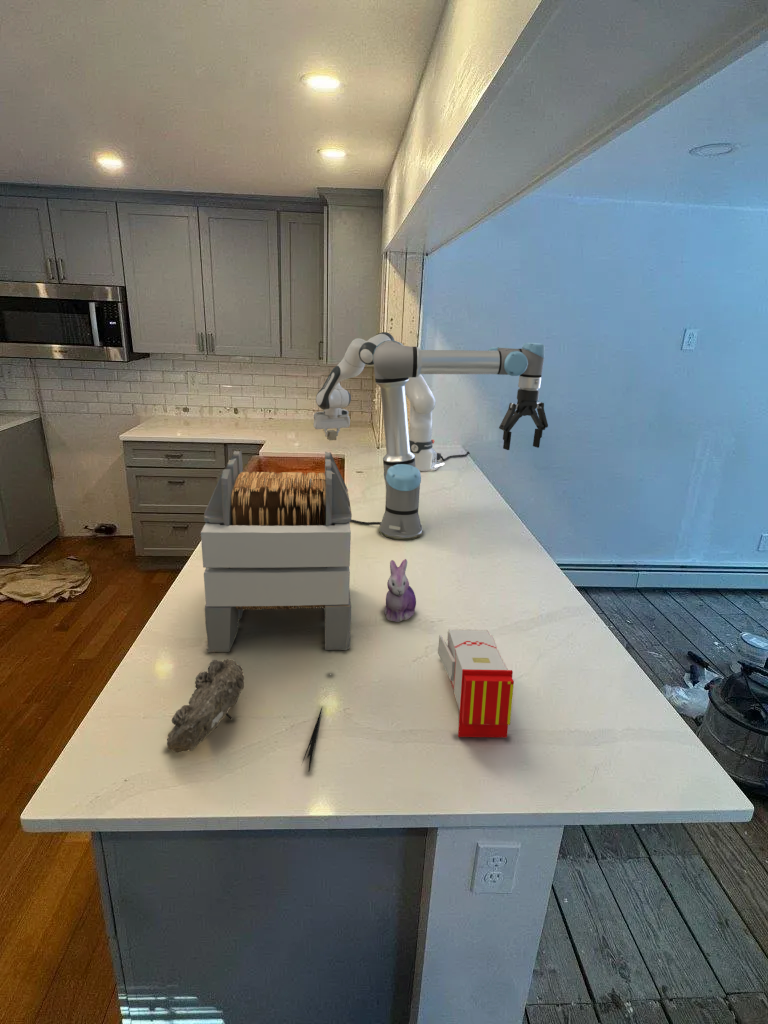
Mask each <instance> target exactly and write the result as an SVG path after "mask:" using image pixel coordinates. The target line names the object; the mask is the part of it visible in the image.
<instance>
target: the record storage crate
mask: <svg viewBox="0 0 768 1024" xmlns="http://www.w3.org/2000/svg"><path fill="white" fill-rule="evenodd" d="M337 465H338V464H337V463H336V461H335V459H334V457H333V454H332V452H330V451H324V472H317V473H316V472H307V473H306V472H305V473H304V472H301V471H300V472H299V471H298V472H297V471H296V472H294V471H293V472H292V471H291V472H290V471H289V472H288V471H282V472H278V473H277V472H274V471H261V472H259V471H251V472H250V471H244V469H243V468H244V467H243V466H244V465H243V453H242V451H237V450H234V451H233V453H232V454H231V457H230V458H229V459H228V462H227V464H226V466H225V468H224V469H223V470H222V471H221V474H220V476H219V479H218V481H217V483H216V485H215V487H214V490H213V492H212V494H211V497H210V498H209V502H208V503H207V506H206V508H205V510H204V514H203V521H204V522H205V523H204V525H203V527H202V529H201V531H200V541H201V556H202V568H205V570H204V571H203V582H204V596H205V599H204V600H205V605H204V621H205V633H206V640H207V641H206V642H207V648H206V651H207V653H215V652H217V653H218V652H219V653H220V652H221V653H222V652H223V653H224V652H226V653H227V652H230V651H231V649H232V646H233V644H234V642H235V638H236V637H237V634H238V632H239V629H240V624H239V623H240V622H239V621H240V620H242V617H243V613H244V611H245V610H252V611H254V610H255V611H256V610H293V609H294V610H296V609H297V610H299V609H300V610H301V609H303V610H306V609H307V610H310V609H312V610H313V609H324V611H323V612H324V614H323V616H324V617H323V618H324V650H325V651H326V650H332V651H333V650H334V651H335V650H342V651H347V650H349V649H350V648H351V631H352V626H351V625H352V603H351V591H350V580H351V579H350V578H351V576H350V575H351V570H350V566H351V543H352V542H351V538H352V537H351V536H352V535H351V534H352V531H351V525H350V523H351V522H350V521H351V520H352V516H353V515H352V509H351V508H352V507H351V501H350V496H349V495H350V494H349V489H348V486H347V485H346V483H345V480H344V478H343V476H342V474H341V471H340V470H339V467H338V466H337Z"/></svg>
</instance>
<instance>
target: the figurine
mask: <svg viewBox="0 0 768 1024" xmlns="http://www.w3.org/2000/svg"><path fill="white" fill-rule="evenodd" d="M407 567H408V559H406V558H404V559H403V560H402V561H401V563H400V565H399V566H398V565H397V563H396V562H395V561H394V560H393V559H391V560H390V561H389V570H390V576H389V578H388V579H387V589H388V591H387V592H386V594H385V595H386V596H385V607H384V615H385V616H386V620H387V621H391V622H395V623H400V622H402V621H406V620H409V619H410V618H411V617H413V616H414V615H415V610H416V606H417V597H416V593H415V591H414V590H413V587H411V586H410V582H409V579H408V577H407V574H406V571H407Z"/></svg>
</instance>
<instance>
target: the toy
mask: <svg viewBox="0 0 768 1024" xmlns="http://www.w3.org/2000/svg"><path fill="white" fill-rule="evenodd" d="M446 640H447V643H446V641H445V639H444V636H443V635H442V634H439V637H438V646H437V656H438V657H439V659H440V661H441V663H442V666H443V668H444V670H445V672H446V674H447V677H448V679H449V681H450V684H451V687H452V690H453V693H454V697H455V701H456V705H457V708H458V711H459V714H458V715H459V716H458V730H457V731H458V732H457V737H458V738H508V731H509V726H510V725H511V717H512V707H513V697H514V696H513V695H514V684H515V680H514V679H513V673H514V671H513V670H512V669H508V667H507V665H506V662H505V661H504V659H503V658H502V655H501V653H500V651H499V649H498V647H497V643H496V639H495V637H494V635H493V634H491V632H490V631H489V629H467V628H466V629H465V628H463V629H461V628H460V629H459V628H448V630H447V639H446Z"/></svg>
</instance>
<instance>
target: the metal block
mask: <svg viewBox="0 0 768 1024" xmlns="http://www.w3.org/2000/svg"><path fill="white" fill-rule="evenodd" d="M336 431H337V430H334V429H327V431H326V432H327V433H329V437H326V439H327V440H328V441H337V436H336V433H337V432H336Z"/></svg>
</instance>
